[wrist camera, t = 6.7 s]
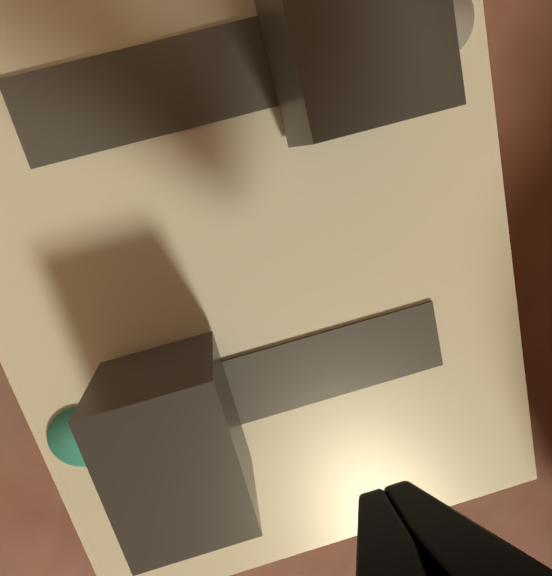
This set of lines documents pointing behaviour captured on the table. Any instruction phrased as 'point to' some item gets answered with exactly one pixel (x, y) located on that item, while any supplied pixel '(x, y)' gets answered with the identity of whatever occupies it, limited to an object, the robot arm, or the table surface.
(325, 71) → the dark grey box
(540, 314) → the table surface
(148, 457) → the grey block
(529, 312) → the table surface
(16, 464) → the table surface
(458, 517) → the robot arm
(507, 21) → the table surface
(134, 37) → the switch board
